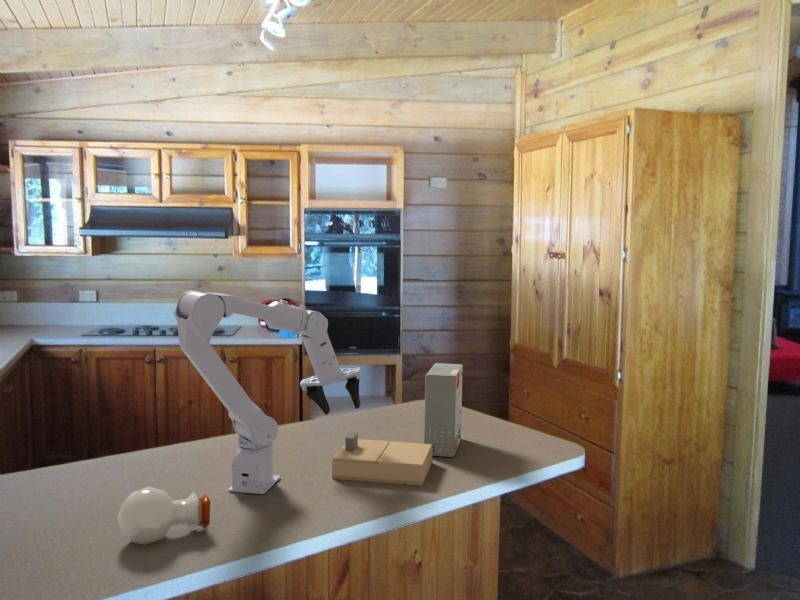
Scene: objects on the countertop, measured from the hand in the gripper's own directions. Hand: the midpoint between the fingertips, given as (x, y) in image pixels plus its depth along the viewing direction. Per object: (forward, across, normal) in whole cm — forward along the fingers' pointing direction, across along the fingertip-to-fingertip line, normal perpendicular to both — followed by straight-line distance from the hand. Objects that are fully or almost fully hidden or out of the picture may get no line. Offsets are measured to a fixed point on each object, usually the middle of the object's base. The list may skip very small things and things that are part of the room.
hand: (342, 409), depth 153 cm
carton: (+13, -7, +8) cm, 17 cm away
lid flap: (+8, -3, +6) cm, 11 cm away
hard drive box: (+22, -17, -10) cm, 29 cm away
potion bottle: (-6, +22, +44) cm, 49 cm away
